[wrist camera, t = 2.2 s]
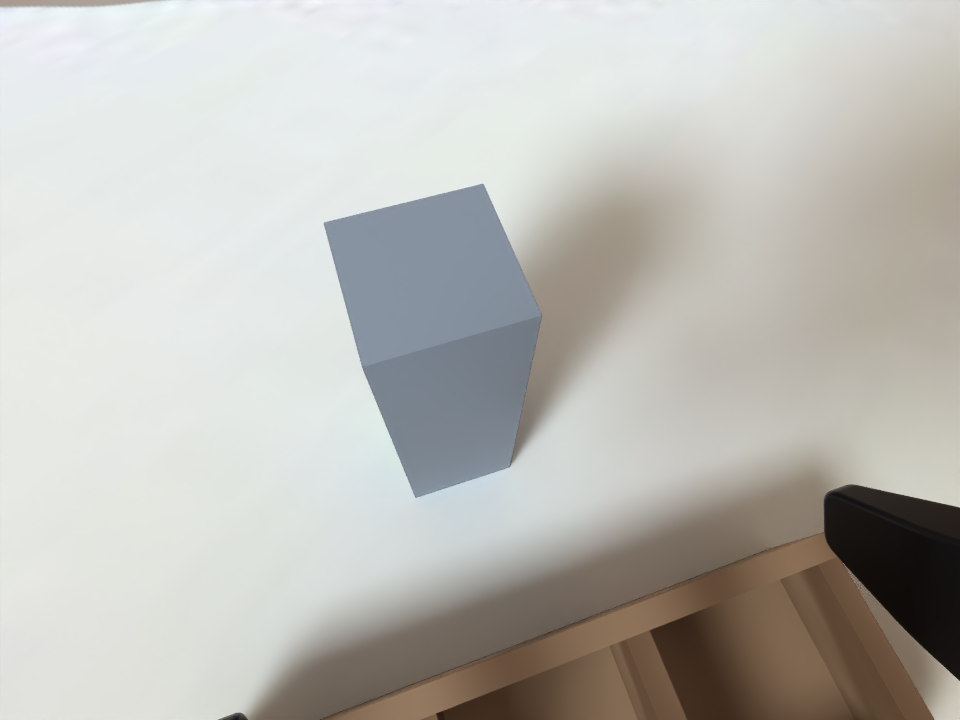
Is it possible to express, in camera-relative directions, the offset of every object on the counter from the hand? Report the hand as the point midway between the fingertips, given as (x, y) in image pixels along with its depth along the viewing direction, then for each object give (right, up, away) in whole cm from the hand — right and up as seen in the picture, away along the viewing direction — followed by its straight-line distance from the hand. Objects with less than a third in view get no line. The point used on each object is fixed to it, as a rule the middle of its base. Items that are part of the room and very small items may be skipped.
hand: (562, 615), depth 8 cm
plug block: (-3, 0, +15) cm, 16 cm away
